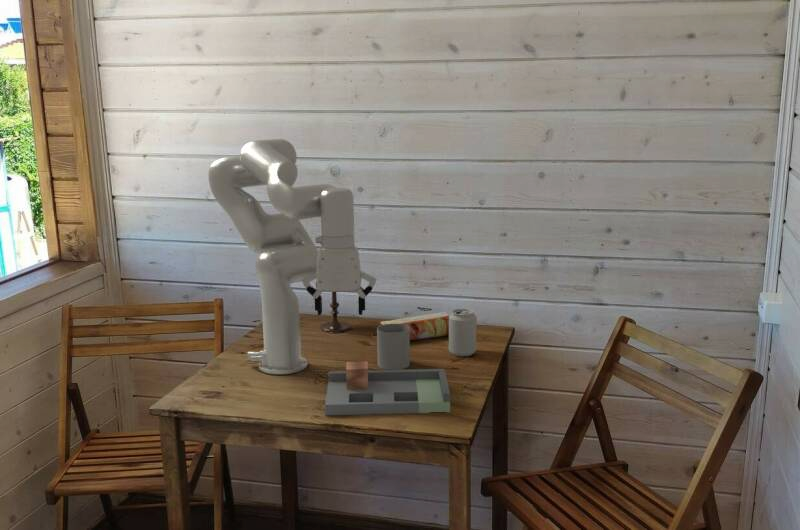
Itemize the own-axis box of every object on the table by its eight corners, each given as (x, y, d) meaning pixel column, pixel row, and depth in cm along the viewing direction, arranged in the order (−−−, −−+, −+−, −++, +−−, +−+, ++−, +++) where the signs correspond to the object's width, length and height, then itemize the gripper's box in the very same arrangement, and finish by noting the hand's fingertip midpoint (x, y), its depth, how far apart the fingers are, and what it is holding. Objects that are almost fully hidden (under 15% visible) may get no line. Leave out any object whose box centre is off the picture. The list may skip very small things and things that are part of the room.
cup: (405, 371, 209) (405, 333, 207) (374, 369, 210) (374, 332, 208) (412, 360, 217) (411, 324, 215) (382, 358, 218) (381, 322, 216)
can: (459, 347, 227) (459, 305, 224) (481, 352, 222) (482, 310, 220) (443, 353, 221) (443, 311, 219) (465, 359, 217) (466, 316, 214)
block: (346, 389, 190) (346, 369, 189) (347, 381, 195) (346, 362, 194) (367, 388, 190) (367, 368, 189) (368, 381, 195) (367, 361, 194)
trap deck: (325, 415, 182) (324, 396, 181) (329, 388, 197) (328, 371, 196) (450, 412, 182) (450, 393, 181) (444, 386, 198) (444, 368, 197)
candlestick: (332, 336, 238) (328, 218, 230) (310, 328, 246) (305, 214, 238) (360, 328, 245) (357, 214, 237) (338, 321, 253) (334, 210, 245)
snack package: (385, 346, 229) (385, 323, 227) (377, 340, 235) (377, 317, 233) (453, 337, 236) (453, 315, 235) (444, 331, 242) (444, 309, 241)
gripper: (298, 245, 184) (301, 318, 187) (374, 245, 183) (376, 317, 187) (303, 239, 191) (305, 309, 195) (376, 238, 190) (377, 308, 194)
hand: (340, 313), depth 191 cm, fingers open, 9 cm apart
